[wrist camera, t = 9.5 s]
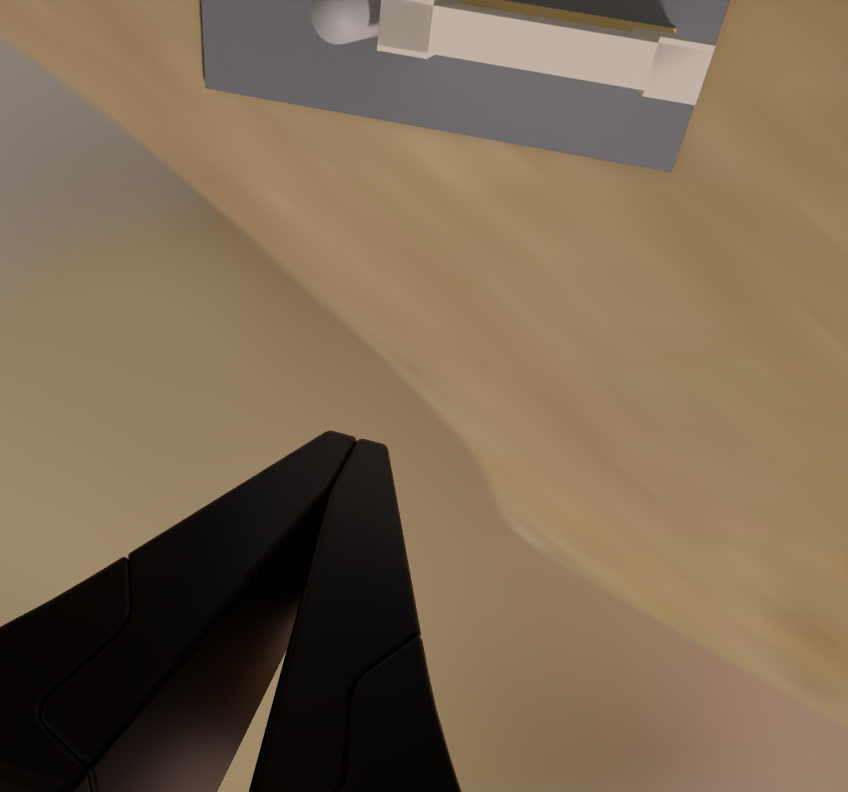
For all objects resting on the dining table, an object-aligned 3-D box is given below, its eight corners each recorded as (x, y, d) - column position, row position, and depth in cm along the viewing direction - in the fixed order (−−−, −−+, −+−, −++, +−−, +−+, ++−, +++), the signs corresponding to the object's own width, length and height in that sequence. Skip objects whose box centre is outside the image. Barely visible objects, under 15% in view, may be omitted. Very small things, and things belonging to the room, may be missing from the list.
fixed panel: (675, 33, 15) (715, 45, 12) (661, 79, 16) (695, 105, 12) (422, -9, 16) (381, -10, 12) (416, 37, 16) (376, 50, 12)
